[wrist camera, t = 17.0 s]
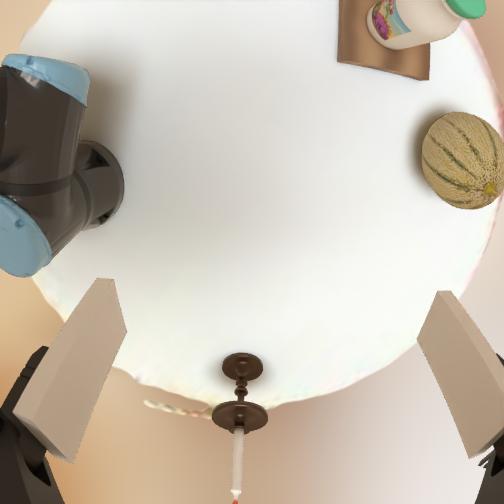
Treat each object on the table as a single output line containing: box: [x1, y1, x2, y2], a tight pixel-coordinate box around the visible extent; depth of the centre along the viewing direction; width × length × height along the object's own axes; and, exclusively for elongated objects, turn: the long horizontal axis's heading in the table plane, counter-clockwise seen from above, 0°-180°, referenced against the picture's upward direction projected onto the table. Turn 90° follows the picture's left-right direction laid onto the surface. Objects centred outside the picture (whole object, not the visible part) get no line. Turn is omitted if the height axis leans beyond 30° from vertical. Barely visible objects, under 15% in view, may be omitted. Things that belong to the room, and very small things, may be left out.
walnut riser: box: [337, 0, 430, 81], centre depth 32 cm, size 14×14×3 cm
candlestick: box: [212, 353, 268, 504], centre depth 50 cm, size 11×11×35 cm
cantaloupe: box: [422, 112, 504, 209], centre depth 35 cm, size 15×15×15 cm
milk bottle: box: [366, 0, 486, 50], centre depth 22 cm, size 8×8×20 cm
